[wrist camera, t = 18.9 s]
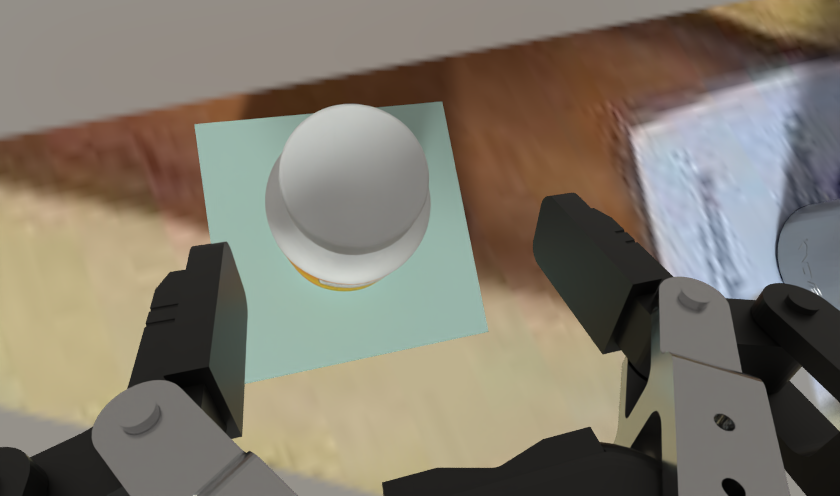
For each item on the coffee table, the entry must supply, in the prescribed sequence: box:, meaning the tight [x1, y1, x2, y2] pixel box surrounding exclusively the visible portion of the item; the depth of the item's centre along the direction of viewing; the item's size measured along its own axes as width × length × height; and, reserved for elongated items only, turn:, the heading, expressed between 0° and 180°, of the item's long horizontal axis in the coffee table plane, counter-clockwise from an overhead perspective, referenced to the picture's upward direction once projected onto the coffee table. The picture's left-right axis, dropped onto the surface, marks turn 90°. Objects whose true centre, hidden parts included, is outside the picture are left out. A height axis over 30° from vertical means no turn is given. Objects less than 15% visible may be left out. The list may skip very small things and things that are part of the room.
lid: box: [195, 102, 488, 384], centre depth 21 cm, size 12×12×1 cm
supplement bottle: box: [265, 104, 431, 292], centre depth 16 cm, size 5×5×10 cm
